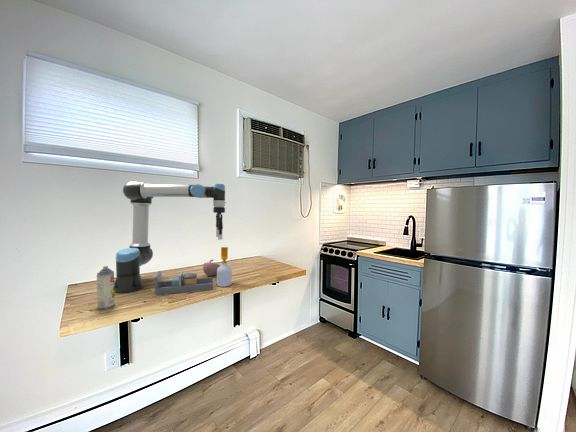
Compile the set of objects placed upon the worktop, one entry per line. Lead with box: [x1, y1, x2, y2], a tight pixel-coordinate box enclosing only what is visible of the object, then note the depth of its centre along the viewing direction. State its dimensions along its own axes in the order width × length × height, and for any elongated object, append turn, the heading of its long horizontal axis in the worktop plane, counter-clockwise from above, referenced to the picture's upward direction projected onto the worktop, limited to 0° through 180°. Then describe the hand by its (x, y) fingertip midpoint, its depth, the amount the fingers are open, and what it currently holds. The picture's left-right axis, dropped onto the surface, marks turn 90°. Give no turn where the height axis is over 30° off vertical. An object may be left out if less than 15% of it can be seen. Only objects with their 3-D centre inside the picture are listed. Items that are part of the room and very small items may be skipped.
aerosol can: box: [96, 265, 116, 310], centre depth 115 cm, size 7×7×20 cm
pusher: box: [171, 270, 183, 287], centre depth 140 cm, size 5×10×9 cm, turn 20°
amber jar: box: [182, 272, 198, 286], centre depth 142 cm, size 8×8×8 cm
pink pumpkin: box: [202, 259, 221, 277], centre depth 168 cm, size 12×12×12 cm
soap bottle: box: [216, 246, 233, 288], centre depth 149 cm, size 9×9×25 cm
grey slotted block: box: [154, 270, 214, 296], centre depth 142 cm, size 31×13×10 cm, turn 110°
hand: (219, 238), depth 158 cm, fingers open, 13 cm apart
